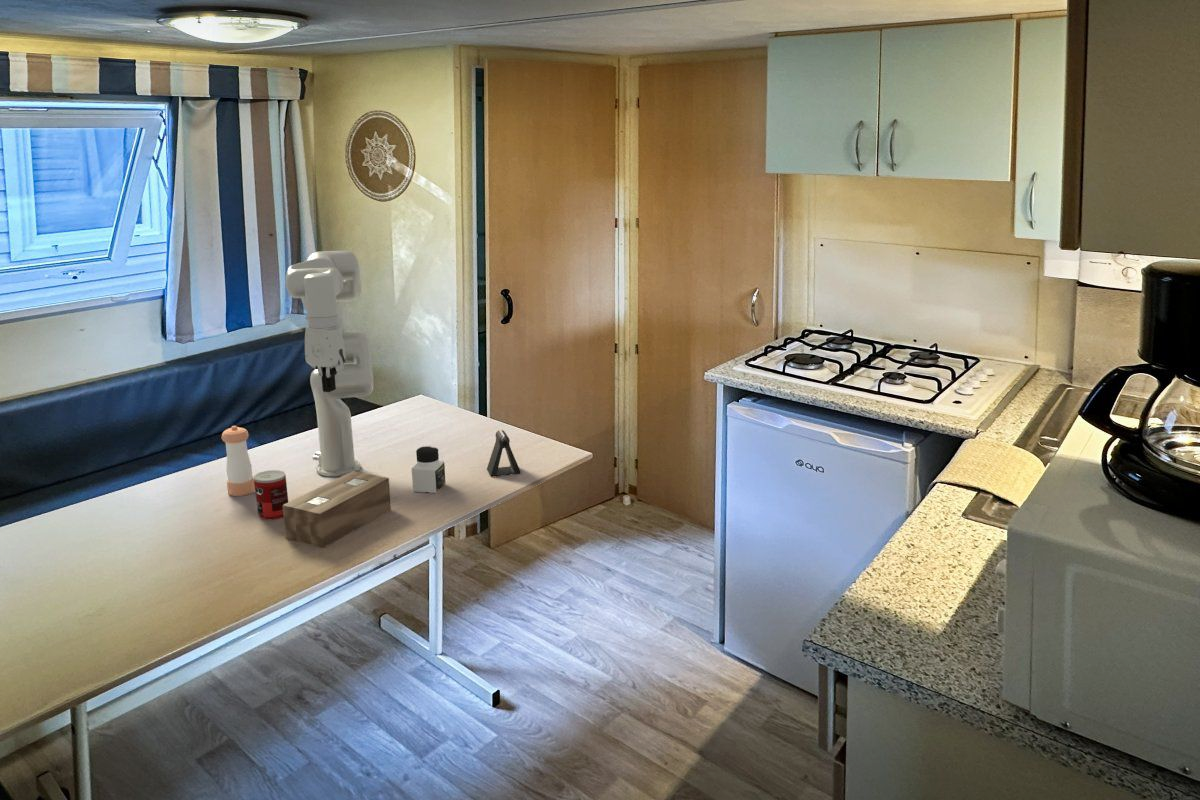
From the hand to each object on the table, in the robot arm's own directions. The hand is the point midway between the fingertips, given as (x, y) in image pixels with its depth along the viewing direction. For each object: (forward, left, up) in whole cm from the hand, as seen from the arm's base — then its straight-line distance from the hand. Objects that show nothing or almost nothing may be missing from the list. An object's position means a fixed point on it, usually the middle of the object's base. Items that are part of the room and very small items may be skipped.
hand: (329, 390), depth 251 cm
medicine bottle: (+15, +20, -32) cm, 41 cm away
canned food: (-11, -13, -32) cm, 36 cm away
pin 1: (+9, -17, -31) cm, 36 cm away
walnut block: (+9, -10, -32) cm, 35 cm away
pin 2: (+9, -3, -31) cm, 32 cm away
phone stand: (+27, +40, -32) cm, 58 cm away
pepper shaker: (-31, -5, -32) cm, 45 cm away
